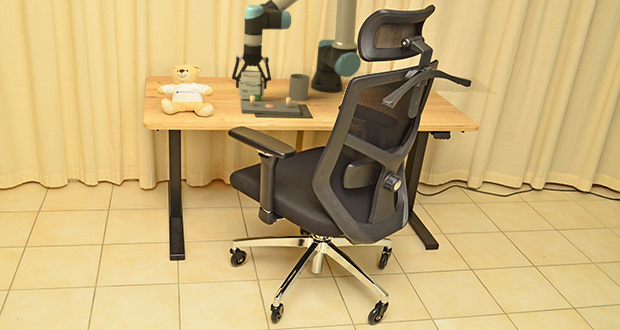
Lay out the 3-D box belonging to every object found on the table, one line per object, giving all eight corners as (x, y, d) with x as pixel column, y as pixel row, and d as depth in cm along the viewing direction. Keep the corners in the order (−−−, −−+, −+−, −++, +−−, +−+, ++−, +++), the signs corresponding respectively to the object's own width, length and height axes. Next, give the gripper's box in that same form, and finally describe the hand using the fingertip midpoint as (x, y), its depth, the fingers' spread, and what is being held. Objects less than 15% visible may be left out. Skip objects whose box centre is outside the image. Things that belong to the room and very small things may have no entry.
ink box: (261, 97, 262) (263, 70, 257) (259, 100, 258) (261, 73, 253) (242, 95, 263) (242, 68, 258) (239, 98, 258) (240, 71, 253)
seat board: (296, 106, 259) (297, 94, 257) (300, 115, 248) (301, 103, 246) (240, 103, 255) (241, 91, 253) (241, 113, 244) (242, 100, 242)
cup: (304, 102, 266) (307, 80, 262) (286, 99, 267) (288, 77, 263) (308, 96, 274) (310, 75, 270) (291, 94, 275) (293, 72, 271)
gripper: (278, 42, 256) (275, 93, 265) (226, 40, 252) (225, 92, 261) (280, 47, 249) (277, 99, 258) (226, 44, 246) (225, 97, 255)
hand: (250, 95), depth 260 cm, fingers closed on ink box, 9 cm apart
